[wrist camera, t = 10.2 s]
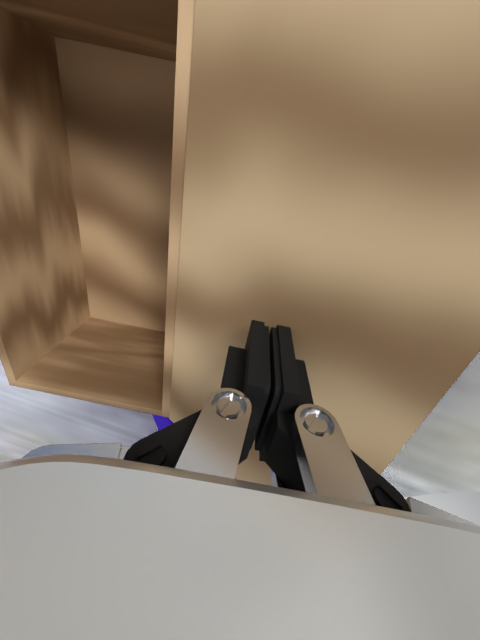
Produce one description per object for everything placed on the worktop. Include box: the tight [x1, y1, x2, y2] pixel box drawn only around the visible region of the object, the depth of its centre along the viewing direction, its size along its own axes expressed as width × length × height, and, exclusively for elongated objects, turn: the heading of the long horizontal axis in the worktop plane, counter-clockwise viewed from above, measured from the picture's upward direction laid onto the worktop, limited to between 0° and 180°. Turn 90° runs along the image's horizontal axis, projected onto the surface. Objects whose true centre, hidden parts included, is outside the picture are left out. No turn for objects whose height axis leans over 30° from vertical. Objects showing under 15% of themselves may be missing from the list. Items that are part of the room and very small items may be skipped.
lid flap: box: [169, 0, 480, 486], centre depth 12 cm, size 22×12×1 cm
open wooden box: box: [0, 0, 195, 418], centre depth 19 cm, size 22×12×10 cm, turn 170°
